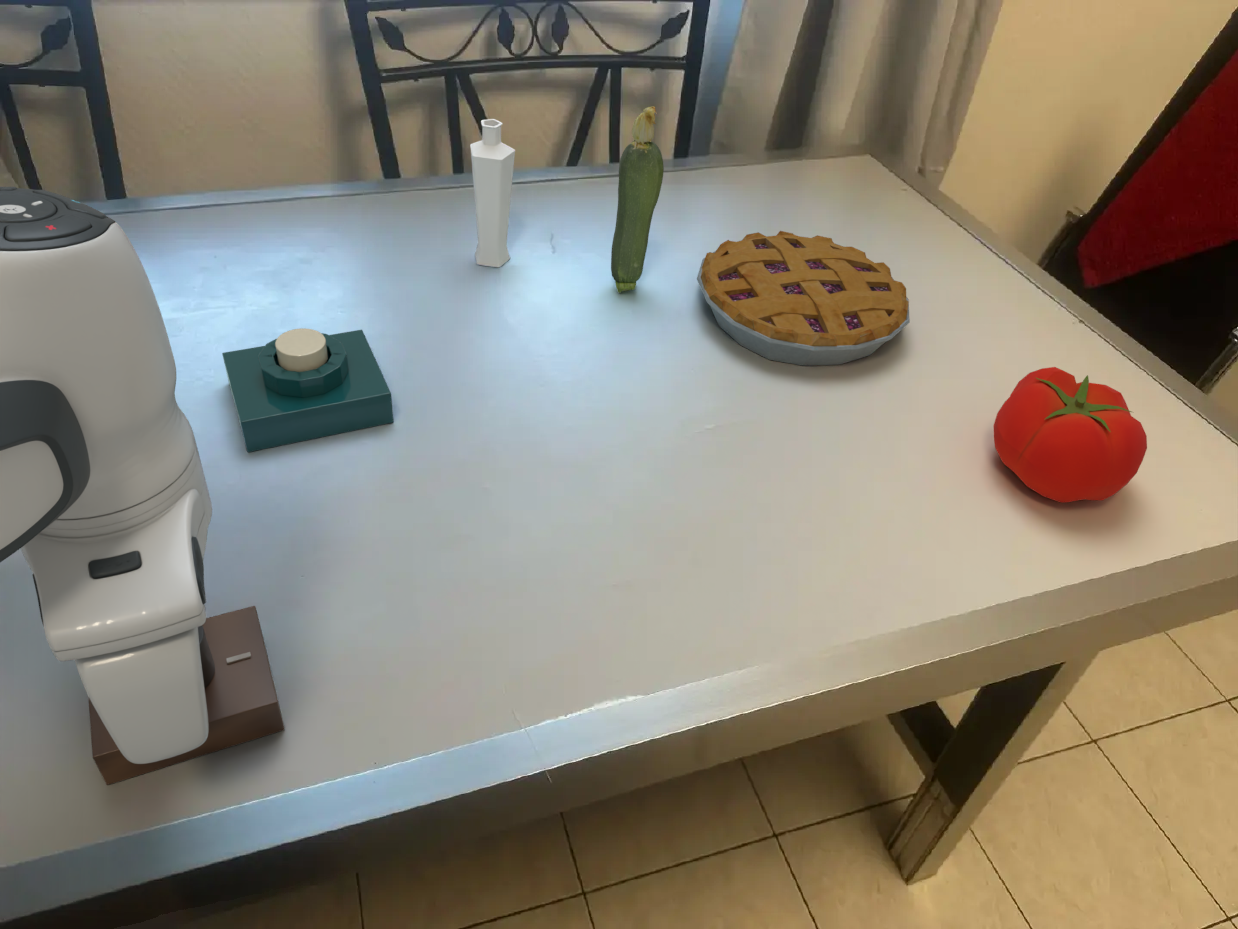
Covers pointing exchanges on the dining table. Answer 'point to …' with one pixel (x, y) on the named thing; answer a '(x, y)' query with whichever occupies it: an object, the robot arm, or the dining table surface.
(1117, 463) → the tomato
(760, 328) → the pie
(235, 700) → the dial panel
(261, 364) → the teal push button box
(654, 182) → the vegetable
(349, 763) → the dining table surface
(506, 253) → the perfume bottle
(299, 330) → the cream push button
